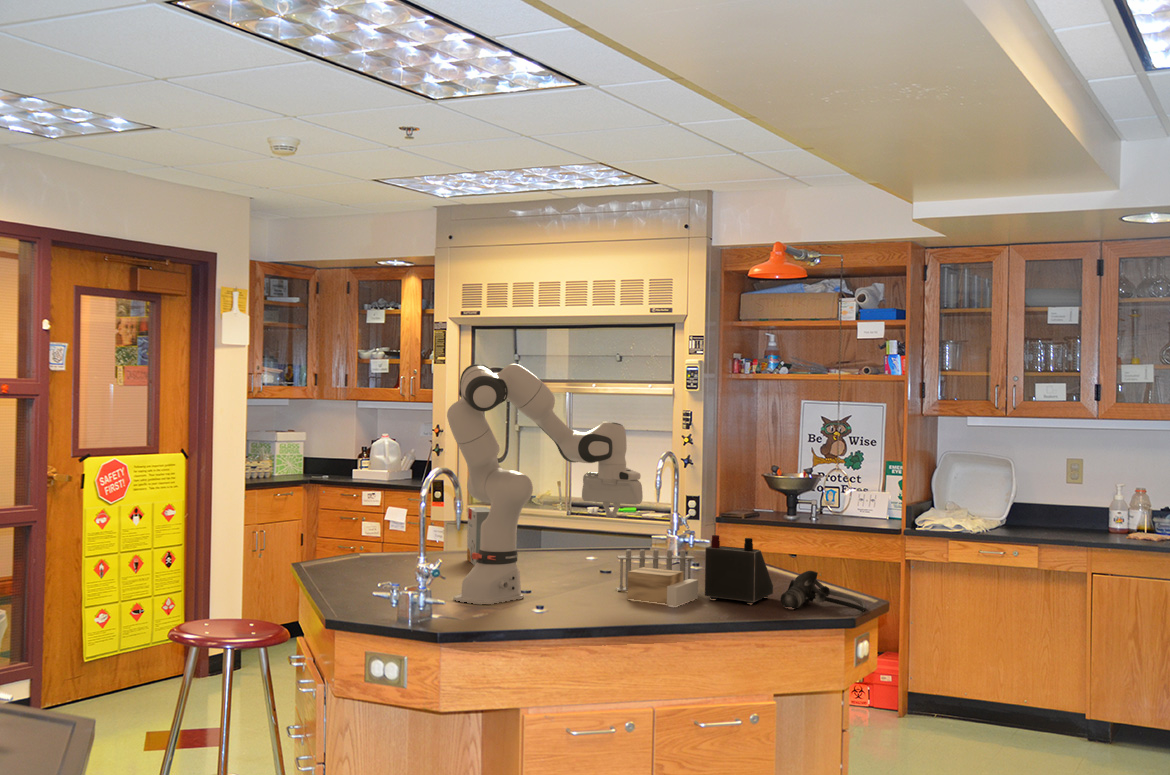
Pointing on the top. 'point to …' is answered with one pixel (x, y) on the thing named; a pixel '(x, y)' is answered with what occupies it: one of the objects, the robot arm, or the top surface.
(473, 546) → the hard drive box
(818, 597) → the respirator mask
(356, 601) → the top surface
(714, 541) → the voltmeter
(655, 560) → the test tube rack
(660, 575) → the oak block
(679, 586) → the board
